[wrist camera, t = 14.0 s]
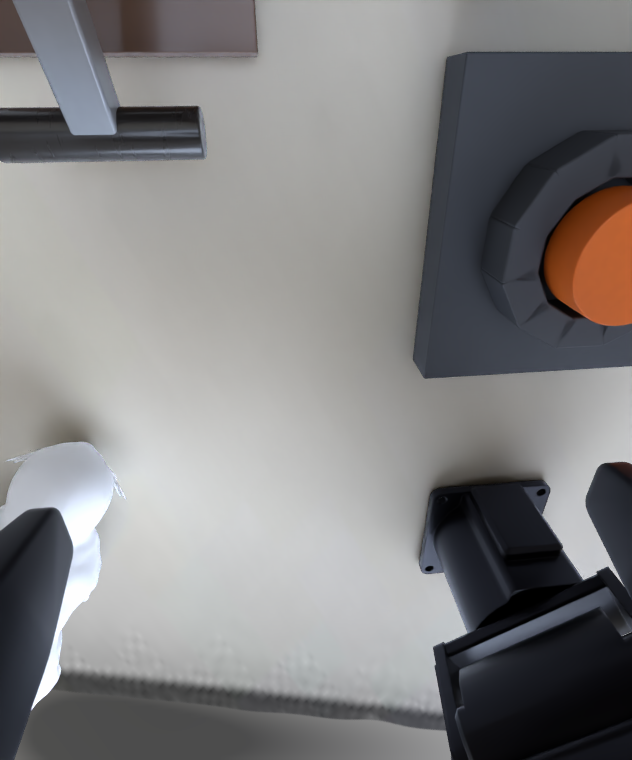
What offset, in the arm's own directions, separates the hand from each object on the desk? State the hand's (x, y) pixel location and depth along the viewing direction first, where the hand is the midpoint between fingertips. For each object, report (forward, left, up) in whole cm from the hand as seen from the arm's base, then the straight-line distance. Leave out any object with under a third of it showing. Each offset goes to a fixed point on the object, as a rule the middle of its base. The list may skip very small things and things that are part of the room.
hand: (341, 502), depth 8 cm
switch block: (+2, -10, -12) cm, 16 cm away
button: (+2, -10, -9) cm, 13 cm away
